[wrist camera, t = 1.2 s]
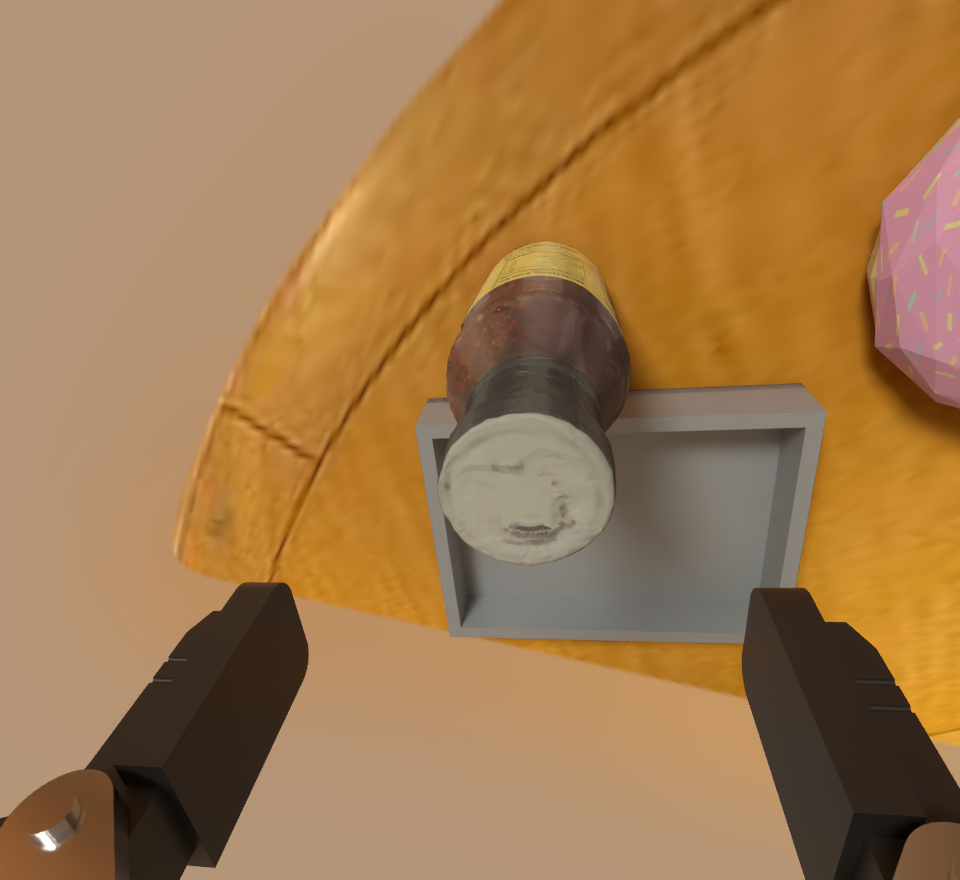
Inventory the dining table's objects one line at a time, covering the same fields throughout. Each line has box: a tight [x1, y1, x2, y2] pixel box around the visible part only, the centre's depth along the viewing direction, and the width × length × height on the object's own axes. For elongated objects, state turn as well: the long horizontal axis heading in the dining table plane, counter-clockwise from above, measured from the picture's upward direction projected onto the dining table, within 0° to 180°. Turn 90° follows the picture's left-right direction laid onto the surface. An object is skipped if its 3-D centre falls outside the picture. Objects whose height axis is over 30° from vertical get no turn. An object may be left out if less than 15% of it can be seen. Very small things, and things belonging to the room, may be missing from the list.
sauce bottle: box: [437, 241, 631, 566], centre depth 22 cm, size 6×6×20 cm
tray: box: [415, 384, 827, 644], centre depth 35 cm, size 20×15×4 cm
